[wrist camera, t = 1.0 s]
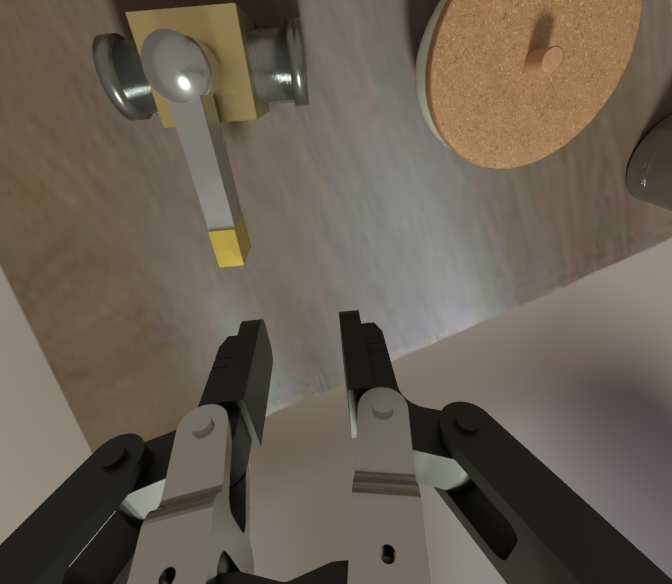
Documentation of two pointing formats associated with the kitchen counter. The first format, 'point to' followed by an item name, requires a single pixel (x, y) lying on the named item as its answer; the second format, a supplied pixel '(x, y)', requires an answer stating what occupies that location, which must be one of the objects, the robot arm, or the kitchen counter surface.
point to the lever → (199, 133)
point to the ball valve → (229, 50)
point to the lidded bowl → (520, 73)
